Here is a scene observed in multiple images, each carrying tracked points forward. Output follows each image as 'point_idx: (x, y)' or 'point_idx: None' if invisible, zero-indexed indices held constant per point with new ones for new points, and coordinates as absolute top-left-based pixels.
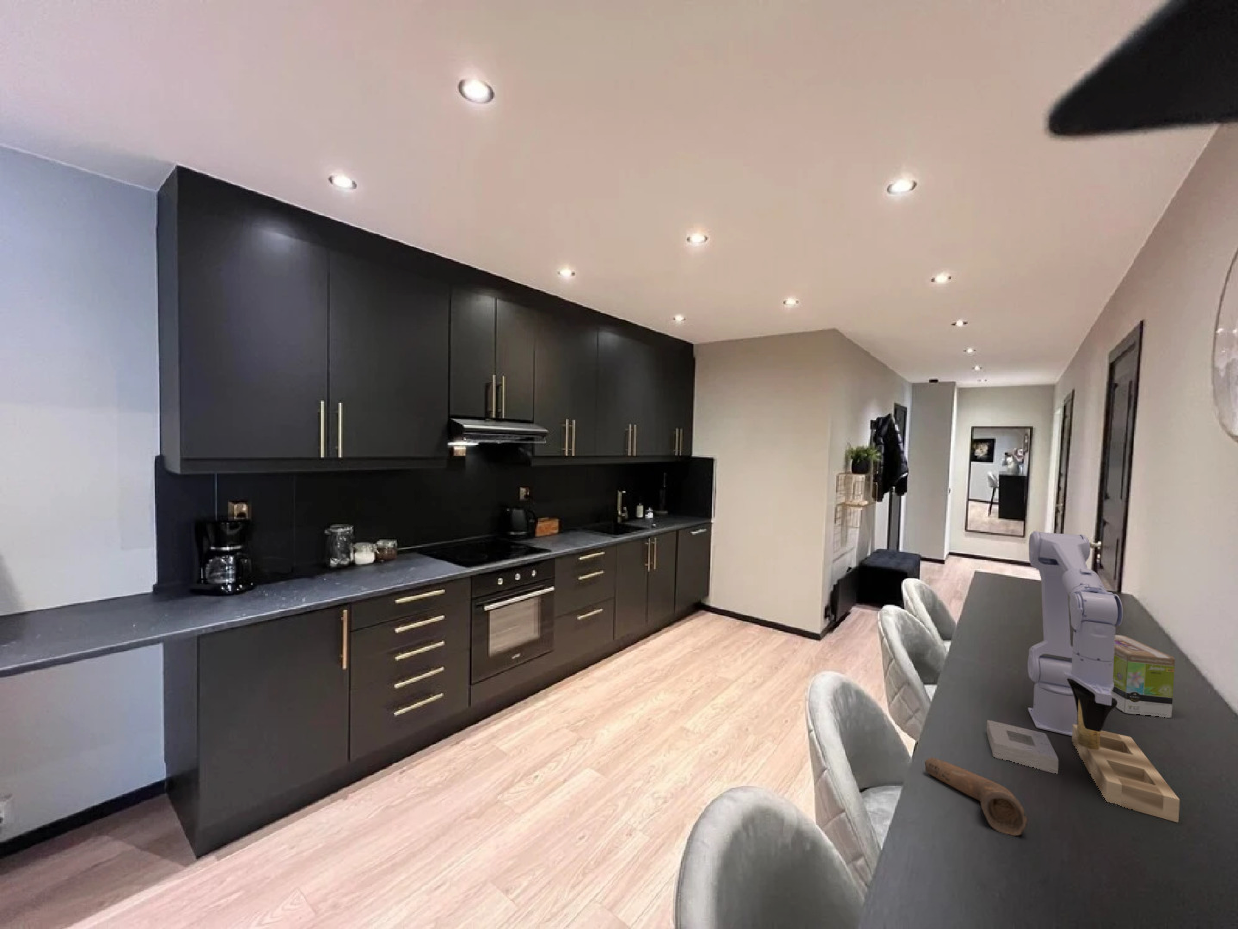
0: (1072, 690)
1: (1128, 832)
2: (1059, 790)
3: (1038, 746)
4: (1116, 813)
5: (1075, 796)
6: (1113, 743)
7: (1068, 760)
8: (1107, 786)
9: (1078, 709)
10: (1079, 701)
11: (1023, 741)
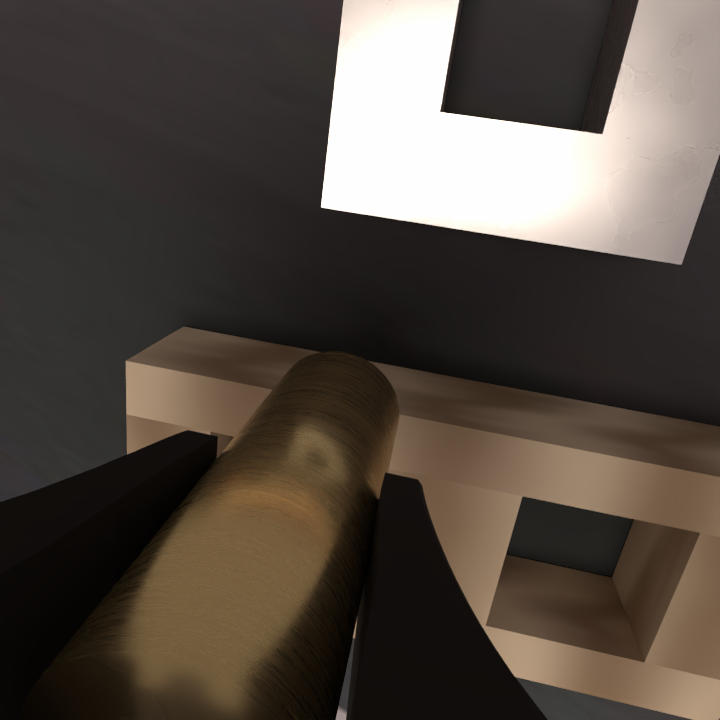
0: (469, 698)
1: (12, 313)
2: (184, 149)
3: (452, 134)
4: (123, 330)
5: (169, 209)
6: (648, 608)
7: (525, 323)
8: (143, 353)
9: (251, 502)
10: (6, 569)
11: (602, 90)
